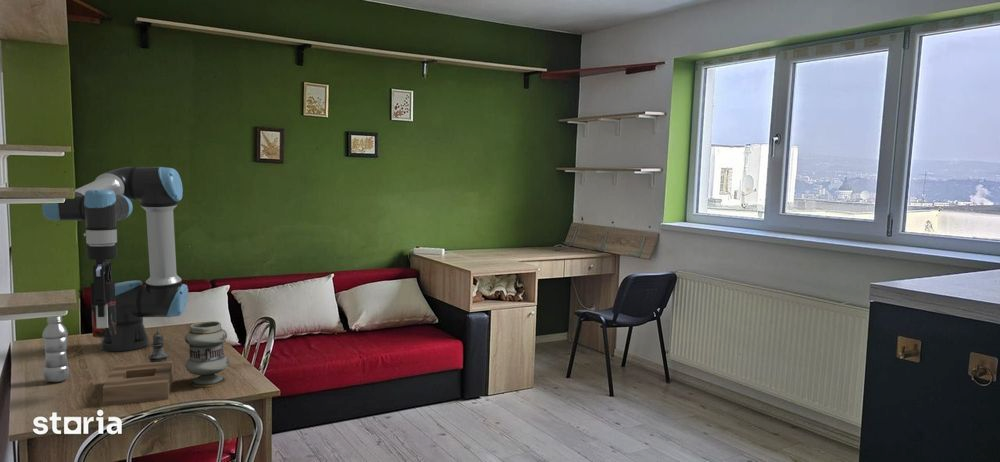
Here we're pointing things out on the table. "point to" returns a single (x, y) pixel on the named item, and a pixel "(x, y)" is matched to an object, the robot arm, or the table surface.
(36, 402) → the table surface
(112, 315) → the deodorant
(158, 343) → the salt shaker
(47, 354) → the plastic bottle
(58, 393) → the table surface
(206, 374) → the apothecary jar
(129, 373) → the holder block
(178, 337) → the table surface
